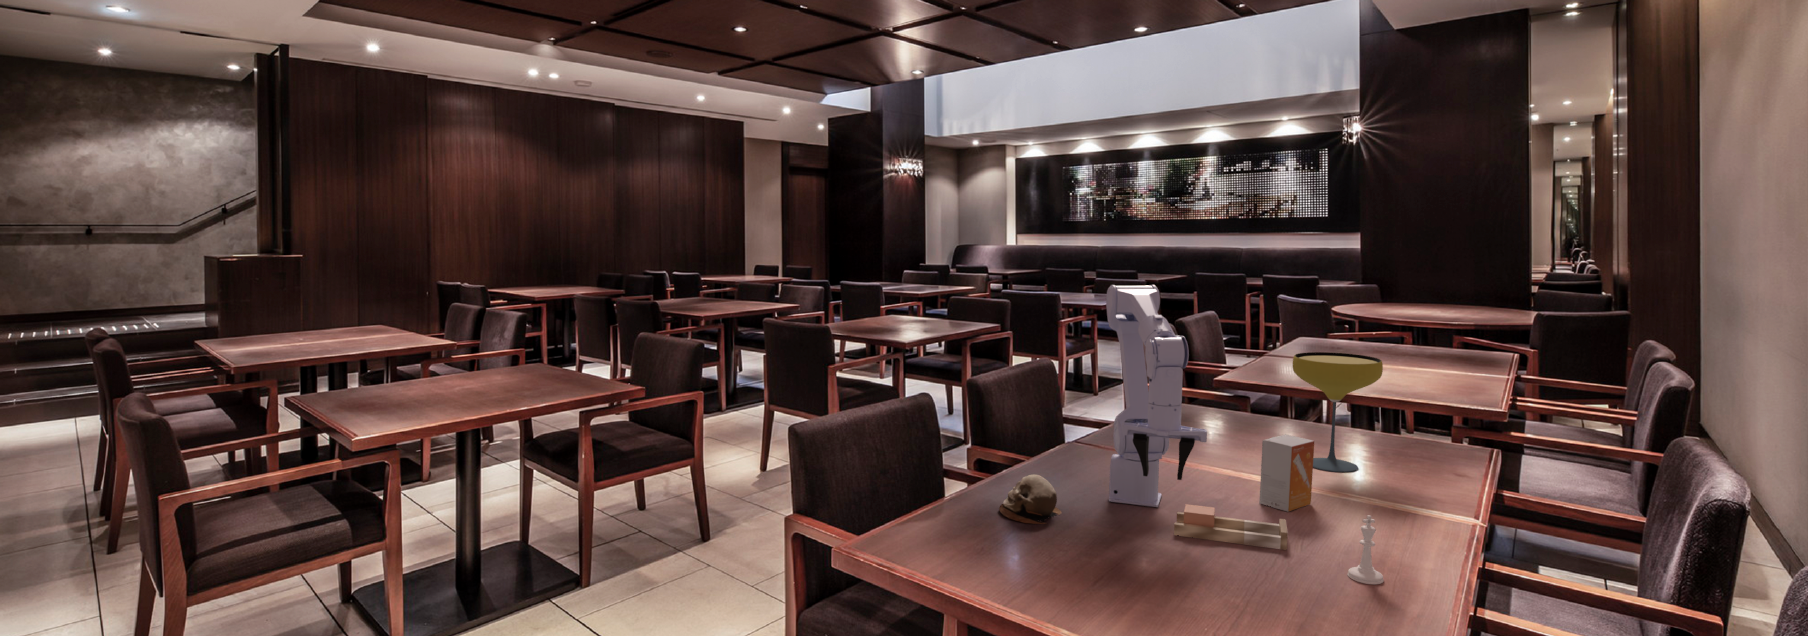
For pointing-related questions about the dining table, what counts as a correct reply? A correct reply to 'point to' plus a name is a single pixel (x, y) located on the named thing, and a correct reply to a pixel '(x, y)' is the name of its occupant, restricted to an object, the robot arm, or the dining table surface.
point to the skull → (1031, 501)
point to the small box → (1286, 472)
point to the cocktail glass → (1336, 387)
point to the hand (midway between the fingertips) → (1162, 476)
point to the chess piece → (1366, 558)
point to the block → (1199, 515)
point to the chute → (1237, 531)
